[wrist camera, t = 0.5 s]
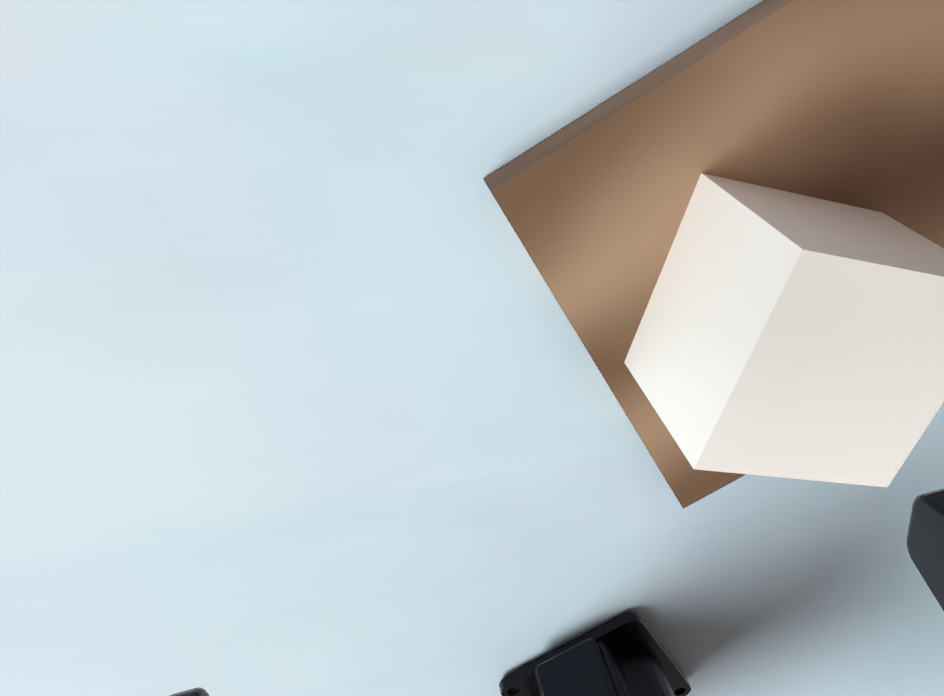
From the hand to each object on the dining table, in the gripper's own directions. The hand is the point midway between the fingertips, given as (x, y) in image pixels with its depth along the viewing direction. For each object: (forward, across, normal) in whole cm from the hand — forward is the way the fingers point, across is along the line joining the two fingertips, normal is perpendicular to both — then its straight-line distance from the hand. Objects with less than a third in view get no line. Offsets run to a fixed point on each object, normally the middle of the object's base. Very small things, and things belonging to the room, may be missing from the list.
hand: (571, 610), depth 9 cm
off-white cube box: (+12, -9, +4) cm, 16 cm away
